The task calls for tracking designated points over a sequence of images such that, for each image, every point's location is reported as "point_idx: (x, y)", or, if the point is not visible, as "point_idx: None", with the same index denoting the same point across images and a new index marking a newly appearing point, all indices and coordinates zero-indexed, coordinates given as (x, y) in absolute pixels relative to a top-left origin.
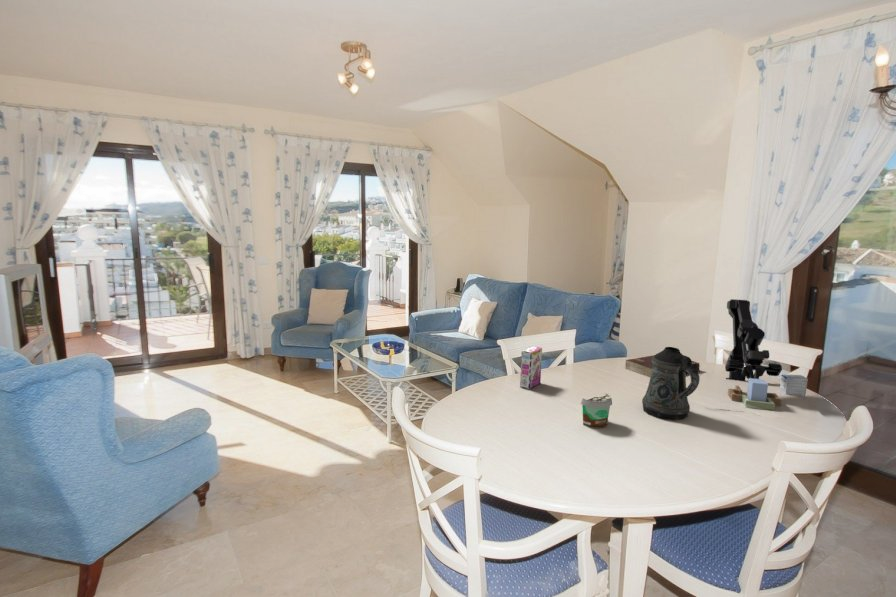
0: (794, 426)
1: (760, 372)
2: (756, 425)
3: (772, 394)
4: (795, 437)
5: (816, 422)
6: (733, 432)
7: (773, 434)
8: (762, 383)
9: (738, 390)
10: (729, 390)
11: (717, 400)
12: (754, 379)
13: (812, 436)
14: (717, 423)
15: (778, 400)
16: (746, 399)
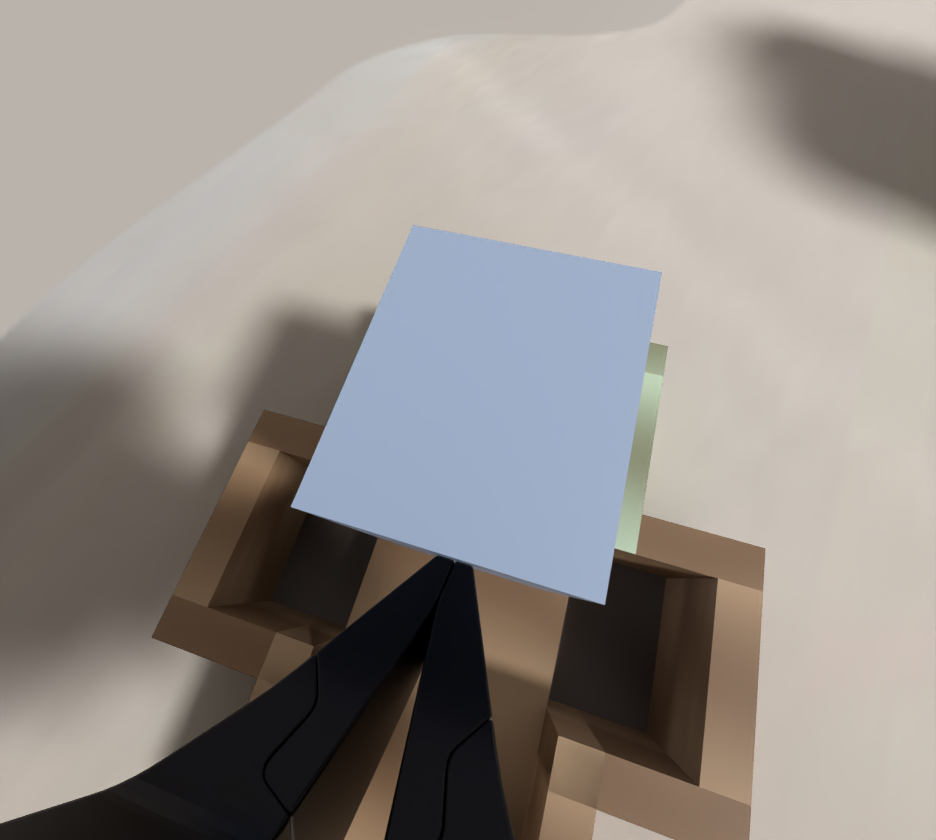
0: (427, 177)
1: (111, 806)
2: (661, 165)
3: (213, 607)
4: (518, 66)
5: (236, 242)
6: (839, 75)
7: (617, 80)
8: (489, 252)
9: (611, 758)
10: (747, 772)
11: (827, 678)
12: (514, 491)
13: (419, 84)
14: (917, 164)
15: (291, 418)
16: (647, 387)
